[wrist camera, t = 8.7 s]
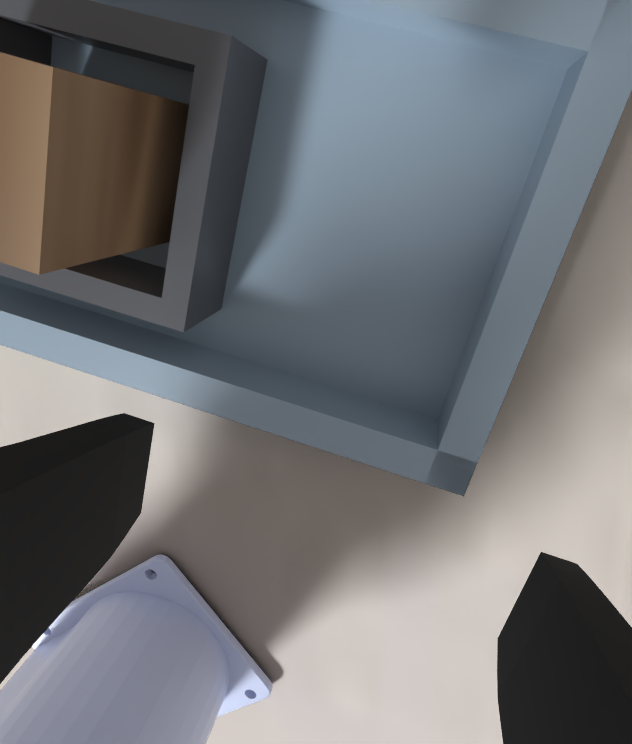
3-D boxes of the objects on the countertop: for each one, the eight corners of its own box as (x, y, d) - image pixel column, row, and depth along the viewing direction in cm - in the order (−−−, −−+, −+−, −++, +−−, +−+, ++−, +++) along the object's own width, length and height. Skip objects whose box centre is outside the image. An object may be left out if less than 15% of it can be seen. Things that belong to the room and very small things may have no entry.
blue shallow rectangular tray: (-51, 292, 21) (-135, 313, 18) (-54, -126, 16) (-171, -197, 13) (460, 455, 19) (464, 510, 16) (630, 30, 14) (683, -10, 11)
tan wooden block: (70, 205, 19) (-125, 221, 12) (82, 74, 17) (-135, 14, 11) (181, 238, 18) (39, 274, 12) (202, 108, 17) (53, 67, 10)
